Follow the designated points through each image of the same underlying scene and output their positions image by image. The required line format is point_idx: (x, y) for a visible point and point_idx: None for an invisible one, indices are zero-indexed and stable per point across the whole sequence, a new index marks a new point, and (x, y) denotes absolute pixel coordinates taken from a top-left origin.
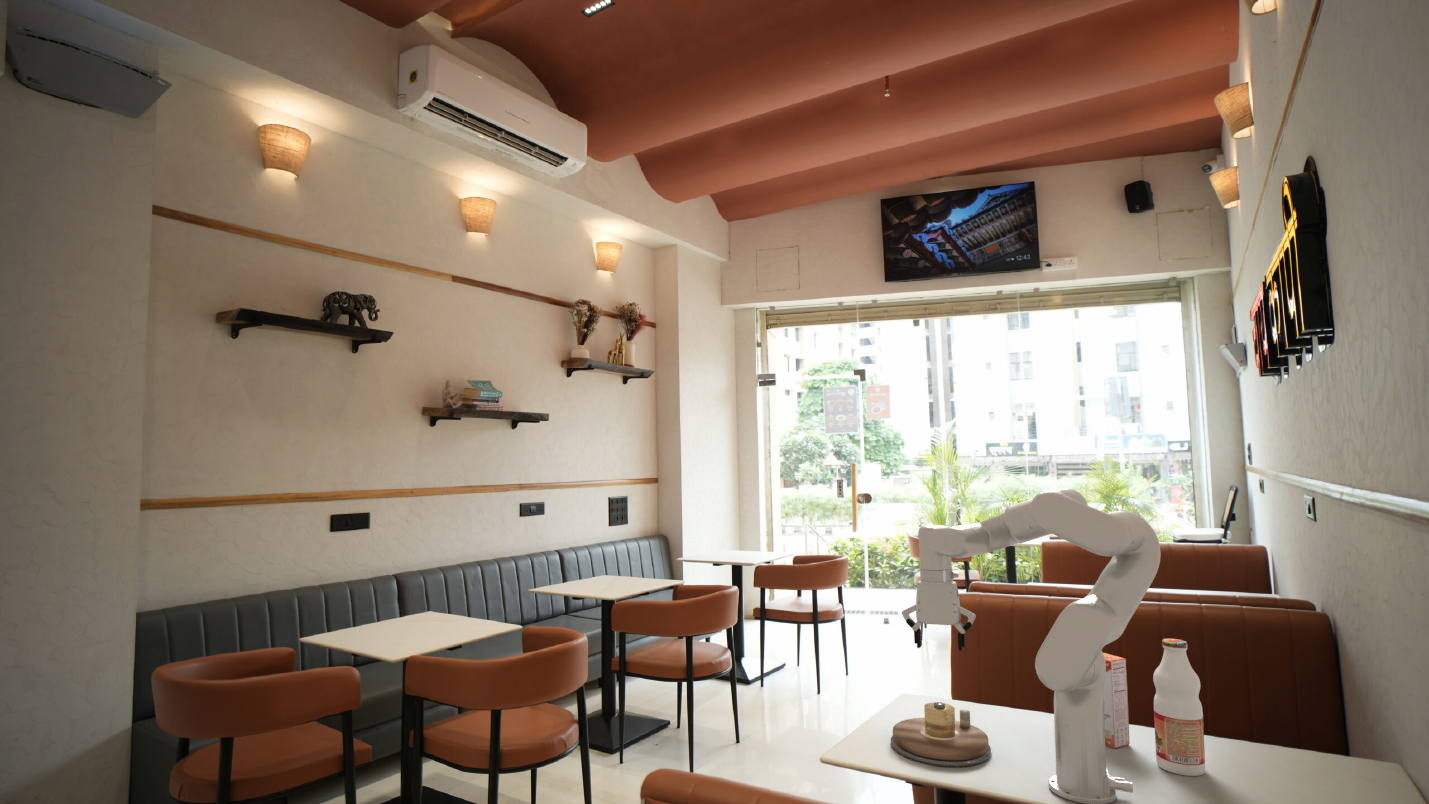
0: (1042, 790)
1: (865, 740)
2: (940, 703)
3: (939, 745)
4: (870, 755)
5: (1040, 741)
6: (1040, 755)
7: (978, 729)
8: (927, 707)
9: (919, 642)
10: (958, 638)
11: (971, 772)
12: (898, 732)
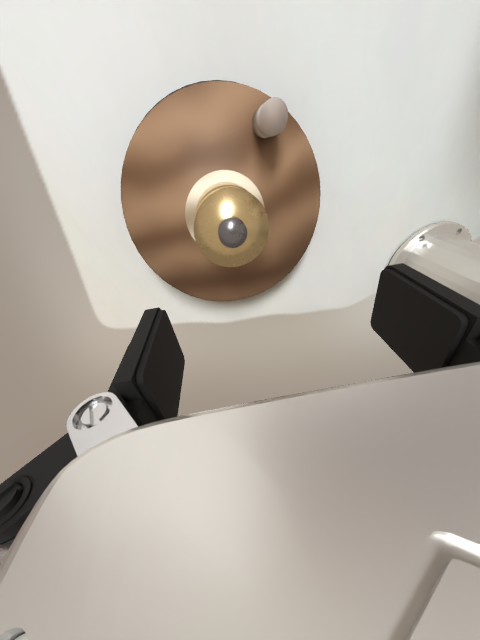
0: (374, 286)
1: (95, 255)
2: (234, 228)
3: (243, 278)
4: (144, 307)
5: (430, 5)
6: (403, 134)
7: (297, 132)
8: (207, 250)
9: (179, 378)
10: (413, 367)
11: (289, 283)
12: (156, 259)
